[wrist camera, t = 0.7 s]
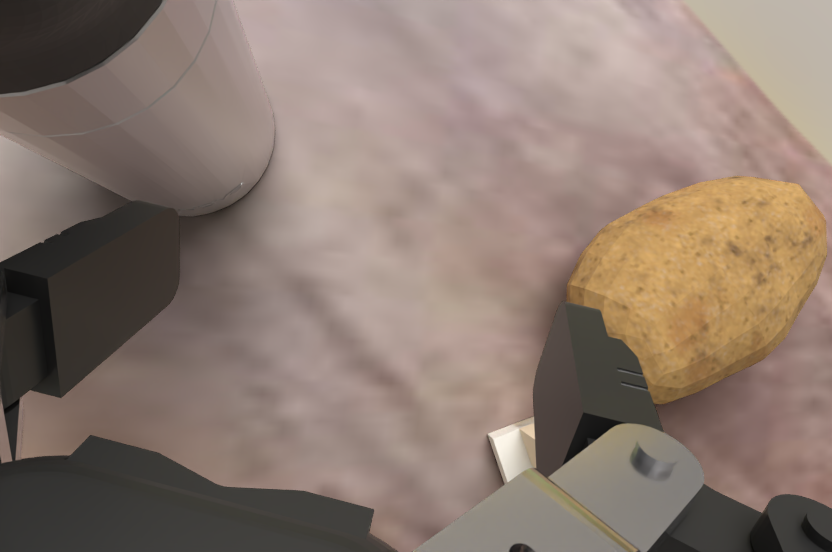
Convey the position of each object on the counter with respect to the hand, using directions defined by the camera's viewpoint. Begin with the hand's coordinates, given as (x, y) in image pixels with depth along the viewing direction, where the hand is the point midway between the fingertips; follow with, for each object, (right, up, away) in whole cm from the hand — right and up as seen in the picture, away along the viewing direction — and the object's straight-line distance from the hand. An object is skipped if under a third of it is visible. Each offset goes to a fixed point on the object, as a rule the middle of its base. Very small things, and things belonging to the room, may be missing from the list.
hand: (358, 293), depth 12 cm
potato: (+14, 0, +21) cm, 26 cm away
